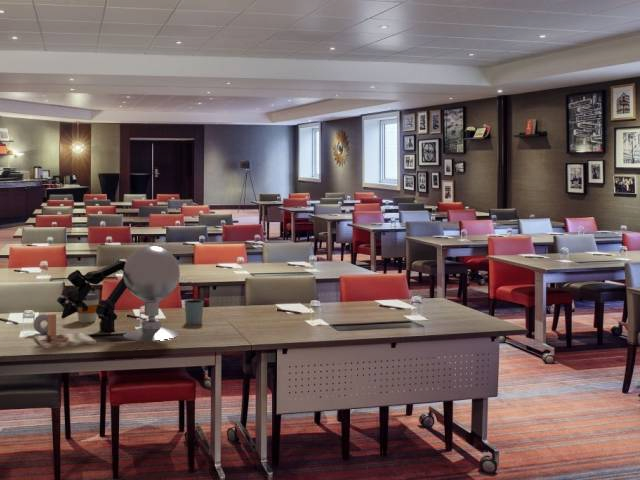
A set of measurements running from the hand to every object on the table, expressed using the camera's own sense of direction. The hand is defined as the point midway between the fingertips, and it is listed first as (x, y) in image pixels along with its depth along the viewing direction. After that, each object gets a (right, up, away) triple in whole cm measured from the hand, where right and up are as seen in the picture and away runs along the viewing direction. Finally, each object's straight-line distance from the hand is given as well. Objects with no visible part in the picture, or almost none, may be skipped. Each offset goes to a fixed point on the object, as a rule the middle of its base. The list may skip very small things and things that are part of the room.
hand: (62, 318), depth 410 cm
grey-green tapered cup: (+57, -7, +48) cm, 75 cm away
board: (+2, -11, -3) cm, 12 cm away
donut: (-13, -9, +13) cm, 20 cm away
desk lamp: (+40, -10, +15) cm, 44 cm away
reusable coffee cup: (-1, -6, +46) cm, 47 cm away
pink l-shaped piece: (-1, -9, -6) cm, 11 cm away
